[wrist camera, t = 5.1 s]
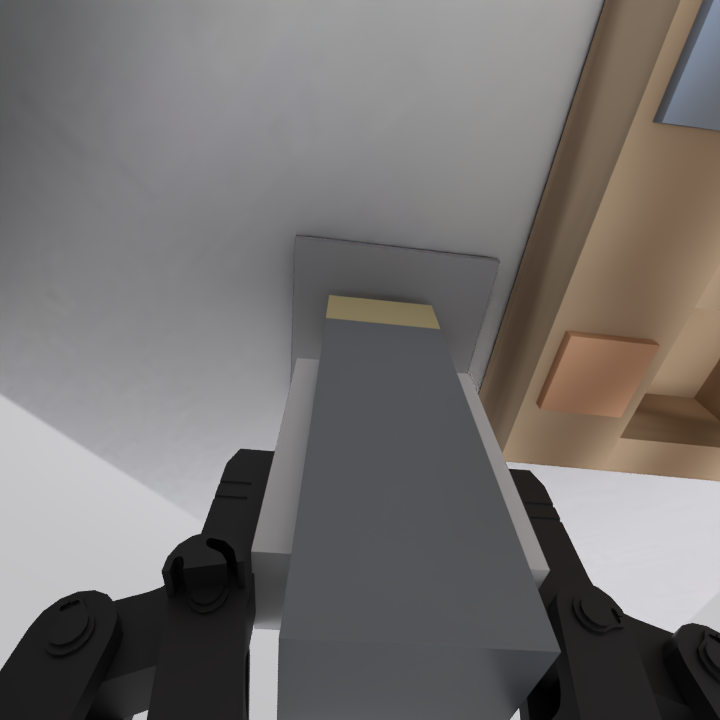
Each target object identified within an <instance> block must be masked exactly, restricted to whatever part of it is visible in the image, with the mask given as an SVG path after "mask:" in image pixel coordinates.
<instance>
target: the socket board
mask: <svg viewBox="0 0 720 720" xmlns="http://www.w3.org/2000/svg"><path fill="white" fill-rule="evenodd" d="M479 398H480V401H481V403H482V406H483V408H484V410H485V413H486V415H487V418H488V420H489V423H490V425H491V428H492V430H493V432H494V435H495V437H496V440H497V442H498V445H499V447H500V450H501V452H502V455H503V457H504V459H505V461H506V462H517V463H528V464H539V465H549V466H560V467H571V468H582V469H593V470H604V471H614V472H625V473H636V474H647V475H658V476H668V477H679V478H690V479H701V480H712V481H720V0H606V1H605V4H604V7H603V10H602V13H601V16H600V19H599V22H598V25H597V29H596V32H595V35H594V38H593V41H592V44H591V47H590V50H589V53H588V57H587V60H586V63H585V66H584V69H583V72H582V75H581V78H580V81H579V85H578V88H577V91H576V94H575V97H574V100H573V103H572V106H571V109H570V113H569V116H568V119H567V122H566V125H565V128H564V131H563V134H562V138H561V141H560V144H559V147H558V150H557V153H556V156H555V159H554V162H553V166H552V169H551V172H550V175H549V178H548V181H547V184H546V187H545V190H544V194H543V197H542V200H541V203H540V206H539V209H538V212H537V215H536V218H535V222H534V225H533V228H532V231H531V234H530V237H529V240H528V243H527V246H526V250H525V253H524V256H523V259H522V262H521V265H520V268H519V271H518V274H517V278H516V281H515V284H514V287H513V290H512V293H511V296H510V299H509V302H508V306H507V309H506V312H505V315H504V318H503V321H502V324H501V327H500V331H499V334H498V337H497V340H496V343H495V346H494V349H493V352H492V355H491V359H490V362H489V365H488V368H487V371H486V374H485V377H484V380H483V383H482V387H481V390H480V393H479Z"/></svg>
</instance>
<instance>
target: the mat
mask: <svg viewBox="0 0 720 720" xmlns="http://www.w3.org/2000/svg"><path fill="white" fill-rule="evenodd" d="M499 264H500V261H499V260H498V259H496V258H487V257H479V256H470V255H462V254H453V253H444V252H436V251H427V250H419V249H410V248H401V247H393V246H384V245H376V244H367V243H358V242H350V241H341V240H333V239H324V238H315V237H307V236H298V235H296V237H295V254H294V286H293V318H292V350H291V382H292V378H293V373H294V369H295V365H296V361H297V358H304V359H314V360H320V354H321V347H322V340H323V333H324V327H325V320H326V313H327V306H328V299H329V295H334V296H344V297H354V298H364V299H373V300H383V301H393V302H403V303H412V304H422V305H432V308H433V310H434V313H435V316H436V318H437V321H438V324H439V326H440V329H441V332H442V334H443V337H444V340H445V342H446V345H447V348H448V351H449V353H450V356H451V359H452V361H453V364H454V367H455V369H456V372H457V373H465V374H467V372H468V369H469V366H470V362H471V359H472V355H473V352H474V349H475V345H476V342H477V338H478V335H479V332H480V328H481V325H482V321H483V318H484V315H485V311H486V308H487V304H488V301H489V298H490V294H491V291H492V287H493V284H494V281H495V277H496V274H497V270H498V267H499ZM291 382H290V386H291Z"/></svg>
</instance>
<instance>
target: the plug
mask: <svg viewBox="0 0 720 720" xmlns="http://www.w3.org/2000/svg"><path fill="white" fill-rule="evenodd" d="M560 653H561V650H560V648H559V645H558V642H557V639H556V637H555V634H554V631H553V629H552V626H551V623H550V621H549V618H548V615H547V613H546V610H545V607H544V605H543V602H542V599H541V597H540V594H539V591H538V589H537V586H536V583H535V581H534V578H533V575H532V573H531V570H530V567H529V565H528V562H527V559H526V557H525V554H524V551H523V549H522V546H521V543H520V540H519V538H518V535H517V532H516V530H515V527H514V524H513V522H512V519H511V516H510V514H509V511H508V508H507V506H506V503H505V500H504V498H503V495H502V492H501V490H500V487H499V484H498V482H497V479H496V476H495V474H494V471H493V468H492V466H491V463H490V460H489V458H488V455H487V452H486V450H485V447H484V444H483V441H482V439H481V436H480V433H479V431H478V428H477V425H476V423H475V420H474V417H473V415H472V412H471V409H470V407H469V404H468V401H467V399H466V396H465V393H464V391H463V388H462V385H461V383H460V380H459V377H458V375H457V372H456V369H455V367H454V364H453V361H452V359H451V356H450V353H449V351H448V348H447V345H446V342H445V340H444V337H443V334H442V332H441V329H440V326H439V324H438V321H437V318H436V316H435V313H434V310H433V308H432V305H422V304H412V303H403V302H393V301H383V300H373V299H364V298H354V297H344V296H334V295H329V299H328V306H327V313H326V320H325V327H324V333H323V340H322V347H321V354H320V361H319V368H318V374H317V381H316V388H315V395H314V402H313V409H312V415H311V422H310V429H309V436H308V443H307V449H306V456H305V463H304V470H303V477H302V484H301V490H300V497H299V504H298V511H297V518H296V525H295V531H294V538H293V545H292V552H291V559H290V565H289V572H288V579H287V586H286V593H285V600H284V606H283V613H282V620H281V627H280V634H279V655H278V702H277V703H278V705H277V720H510V719H511V717H512V716H513V715H514V713H515V712H516V711H517V709H518V708H519V707H520V706H521V704H522V703H523V702H524V700H525V699H526V698H527V696H528V695H529V694H530V692H531V691H532V690H533V688H534V687H535V686H536V685H537V683H538V682H539V681H540V679H541V678H542V677H543V675H544V674H545V673H546V671H547V670H548V669H549V667H550V666H551V665H552V663H553V662H554V661H555V660H556V658H557V657H558V656H559V654H560Z"/></svg>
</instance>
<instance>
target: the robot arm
mask: <svg viewBox="0 0 720 720" xmlns="http://www.w3.org/2000/svg"><path fill="white" fill-rule="evenodd" d="M319 361H320V360H314V359H304V358H297V361H296V365H295V369H294V373H293V378H292V382H291V386H290V390H289V394H288V399H287V403H286V407H285V411H284V415H283V419H282V424H281V428H280V432H279V436H278V440H277V445H276V449H275V451H263V450H250V449H240V450H239V451H238V452H237V453H236V454H235V455H234V456H233V457H232V458H231V459H230V460H229V461H228V462H227V464H226V467H225V469H224V472H223V475H222V478H221V480H220V484H219V486H218V489H217V491H216V494H215V499H214V500H213V502H212V505H211V508H210V511H209V513H208V516H207V519H206V522H205V524H204V527H203V530H202V533H201V534H198V535H195V536H192V537H190V538H188V539H187V540H185V541H184V542H182V543H180V544H179V545H178V546H177V547H176V548H175V549H174V550H173V551H172V552H171V554H170V555H169V556H168V557H167V560H166V562H165V564H164V567H163V569H162V575H163V579H164V584H165V585H164V586H163V587H161V588H158V589H155V590H153V591H150V592H147V593H143V594H139V595H135V596H131V597H127V598H124V599H120V600H116V601H112V599H111V598H110V597H109V596H108V595H107V594H104V593H101V592H98V591H95V590H92V591H81V592H76V593H74V594H71V595H69V596H66V597H64V598H61V599H59V600H58V601H57V602H55V603H54V604H53V605H51V606H50V607H48V608H47V609H46V610H44V611H43V612H42V613H41V614H40V616H39V617H38V618H37V619H36V620H35V621H34V623H33V624H32V625H31V626H30V627H29V628H28V630H27V631H26V633H25V635H24V636H23V638H22V639H21V641H20V642H19V644H18V645H17V647H16V648H15V650H14V651H13V653H12V654H11V656H10V657H9V659H8V660H7V662H6V663H5V665H4V666H3V668H2V669H1V671H0V720H132V718H133V716H134V715H135V714H138V713H141V712H144V711H146V710H148V716H147V720H249V682H250V649H249V644H250V640H251V635H252V630H253V625H254V628H255V629H272V630H280V627H281V620H282V613H283V606H284V600H285V593H286V586H287V579H288V572H289V565H290V559H291V552H292V545H293V538H294V531H295V525H296V518H297V511H298V504H299V497H300V490H301V484H302V477H303V470H304V463H305V456H306V449H307V443H308V436H309V429H310V422H311V415H312V409H313V402H314V395H315V388H316V381H317V374H318V368H319ZM457 375H458V377H459V380H460V383H461V385H462V388H463V391H464V393H465V396H466V399H467V401H468V404H469V407H470V409H471V412H472V415H473V417H474V420H475V423H476V425H477V428H478V431H479V433H480V436H481V439H482V441H483V444H484V447H485V450H486V452H487V455H488V458H489V460H490V463H491V466H492V468H493V471H494V474H495V476H496V479H497V482H498V484H499V487H500V490H501V492H502V495H503V498H504V500H505V503H506V506H507V508H508V511H509V514H510V516H511V519H512V522H513V524H514V527H515V530H516V532H517V535H518V538H519V540H520V543H521V546H522V549H523V551H524V554H525V557H526V559H527V562H528V565H529V567H530V570H531V573H532V575H533V578H534V581H535V583H536V586H537V589H538V591H539V594H540V597H541V599H542V602H543V605H544V607H545V610H546V613H547V615H548V618H549V621H550V623H551V626H552V629H553V631H554V634H555V637H556V639H557V642H558V645H559V648H560V650H561V653H560V654H559V656H558V657H557V658H556V660H555V661H554V662H553V663H552V665H551V666H550V667H549V669H548V670H547V671H546V673H545V674H544V675H543V677H542V678H541V679H540V681H539V682H538V683H537V685H536V686H535V687H534V688H533V690H532V691H531V692H530V694H529V695H528V696H527V698H526V699H525V700H524V702H523V703H522V704H521V706H520V707H519V710H520V719H521V720H720V633H719V632H717V631H715V630H713V629H711V628H709V627H707V626H704V625H699V624H694V623H691V624H687V625H683V626H681V627H680V628H679V629H678V630H677V631H676V632H675V633H671V632H668V631H666V630H663V629H661V628H658V627H655V626H653V625H650V624H647V623H645V622H642V621H640V620H637V619H634V618H632V617H630V616H628V615H626V614H624V613H623V611H622V609H621V608H620V607H619V606H618V605H617V604H616V602H615V601H614V600H613V599H612V598H611V597H610V596H609V595H607V594H606V593H605V592H603V591H602V590H601V589H599V588H598V587H596V586H593V584H592V582H591V581H590V579H589V577H588V575H587V573H586V571H585V569H584V567H583V565H582V563H581V561H580V559H579V557H578V555H577V553H576V550H575V548H574V546H573V544H572V542H571V540H570V538H569V536H568V534H567V532H566V530H565V528H564V526H563V524H562V522H560V517H559V515H558V513H557V511H556V509H555V507H553V503H552V501H551V499H550V497H549V495H548V493H547V491H546V489H545V486H544V485H543V484H542V483H541V482H540V481H539V480H538V479H537V478H536V477H535V476H534V475H533V474H532V473H531V471H530V470H518V469H508V467H507V464H506V462H505V459H504V457H503V455H502V452H501V450H500V447H499V445H498V442H497V440H496V437H495V435H494V432H493V430H492V428H491V425H490V423H489V420H488V418H487V415H486V413H485V410H484V408H483V406H482V403H481V401H480V398H479V396H478V393H477V391H476V388H475V386H474V384H473V381H472V379H471V376H470V374H465V373H457Z"/></svg>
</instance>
